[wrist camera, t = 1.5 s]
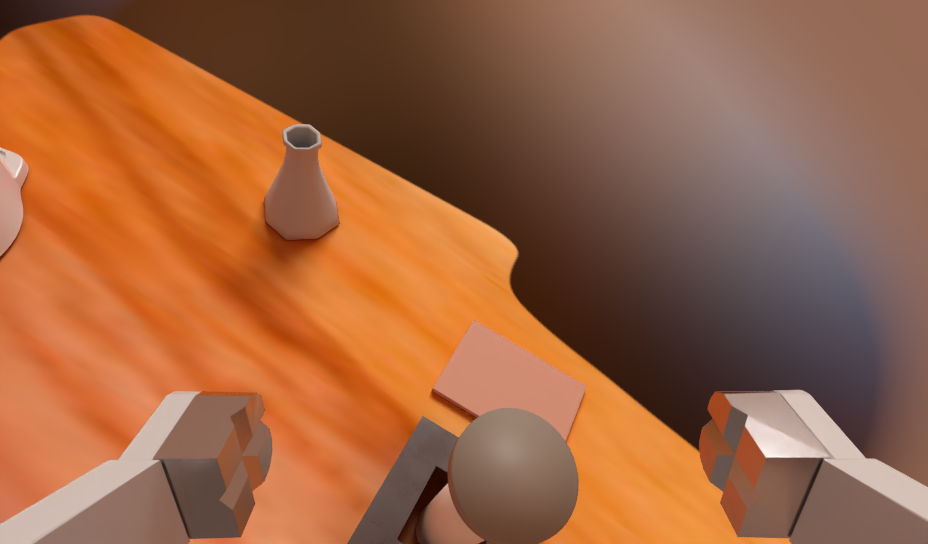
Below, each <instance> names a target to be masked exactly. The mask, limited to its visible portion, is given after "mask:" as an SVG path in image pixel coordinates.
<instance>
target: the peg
mask: <svg viewBox="0 0 928 544" xmlns="http://www.w3.org/2000/svg"><path fill="white" fill-rule="evenodd" d="M577 496H578V472H577V468H576V463H575V460H574V457H573V455H572V453H571V450H570V448H569V446H568V445H567V443H566V441H565V440H564V439H563V437H562V436H561V435H560V433H559V432H558V431H557V430H556V429H555V428H554V427H553V426H552V425H551V424H550V423H548V422H547V421H546V420H544V419H543V418H541V417H540V416H538V415H536V414H534V413H531V412H529V411H526V410H522V409H517V408H500V409H495V410H492V411H489V412H487V413H484V414H482V415H481V416H479V417H478V418H476V419H475V420H474V421H473V422H472V423H471V424H469V426H468V427H467V428H466V429H465V431H464V432H463V433H462V434H461V436H460V437H459V438H458V440H457V442H456V443H455V445H454V447H453V450H452V452H451V455H450V459H449V464H448V484H447V485H446V486H445V487H444V488H443V489H442V490H441V491H440V492H439V493H438V494H437V495H436V496H435V497H434V498H433V499H432V501H431V502H430V503H429V504H428V505H427V506H426V507H425V508H424V509H423V510H422V512H421V513H420V515H419V517H418V520H417V524H416V535H417V540H418V542H419V544H479V543H480V542H482V541H484V540H485V541H487V542H489V543H491V544H538V543H540V542H543V541H545V540H547V539H549V538H551V537H552V536H554V535H555V534H557V533H558V532H559V531H560V530H561V529H562V528H563V527H564V525H565V524H566V523H567V522H568V520H569V518H570V517H571V515H572V513H573V510H574V508H575V505H576V501H577Z"/></svg>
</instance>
